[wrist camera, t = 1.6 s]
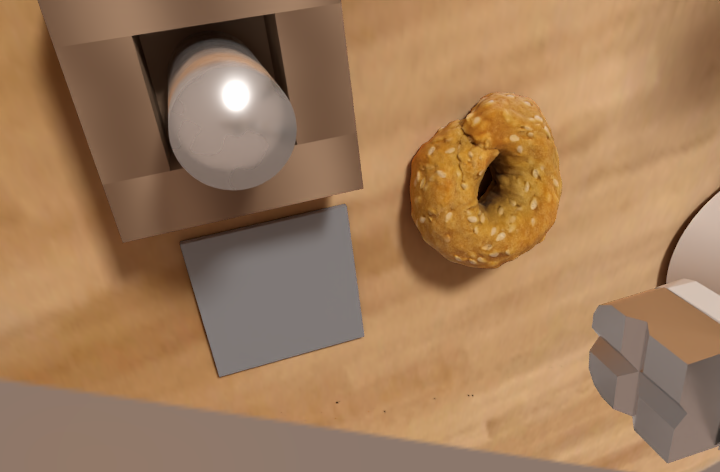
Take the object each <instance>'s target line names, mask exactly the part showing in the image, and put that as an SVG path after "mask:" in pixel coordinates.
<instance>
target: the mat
mask: <svg viewBox="0 0 720 472" xmlns="http://www.w3.org/2000/svg"><path fill="white" fill-rule="evenodd" d="M180 247H181V250H182V253H183V257H184V260H185V263H186V267H187V270H188V273H189V277H190V280H191V283H192V287H193V290H194V293H195V297H196V300H197V303H198V307H199V310H200V314H201V317H202V320H203V324H204V327H205V330H206V334H207V337H208V340H209V344H210V347H211V350H212V354H213V357H214V360H215V364H216V367H217V370H218V374H219V377H221V376H225V375H228V374H232V373H236V372H239V371H243V370H246V369H250V368H253V367H257V366H261V365H264V364H268V363H271V362H275V361H278V360H282V359H285V358H289V357H293V356H296V355H300V354H303V353H307V352H310V351H314V350H318V349H321V348H325V347H328V346H332V345H335V344H339V343H343V342H346V341H350V340H353V339H357V338H360V337H364V330H363V322H362V315H361V308H360V300H359V293H358V286H357V278H356V271H355V264H354V256H353V249H352V242H351V234H350V227H349V220H348V212H347V206H346V205H345V204H342V205H338V206H333V207H329V208H325V209H320V210H316V211H312V212H307V213H303V214H299V215H294V216H290V217H286V218H281V219H277V220H273V221H268V222H264V223H260V224H255V225H251V226H246V227H242V228H238V229H233V230H229V231H225V232H220V233H216V234H212V235H207V236H203V237H199V238H194V239H190V240H186V241H181V242H180Z"/></svg>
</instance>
